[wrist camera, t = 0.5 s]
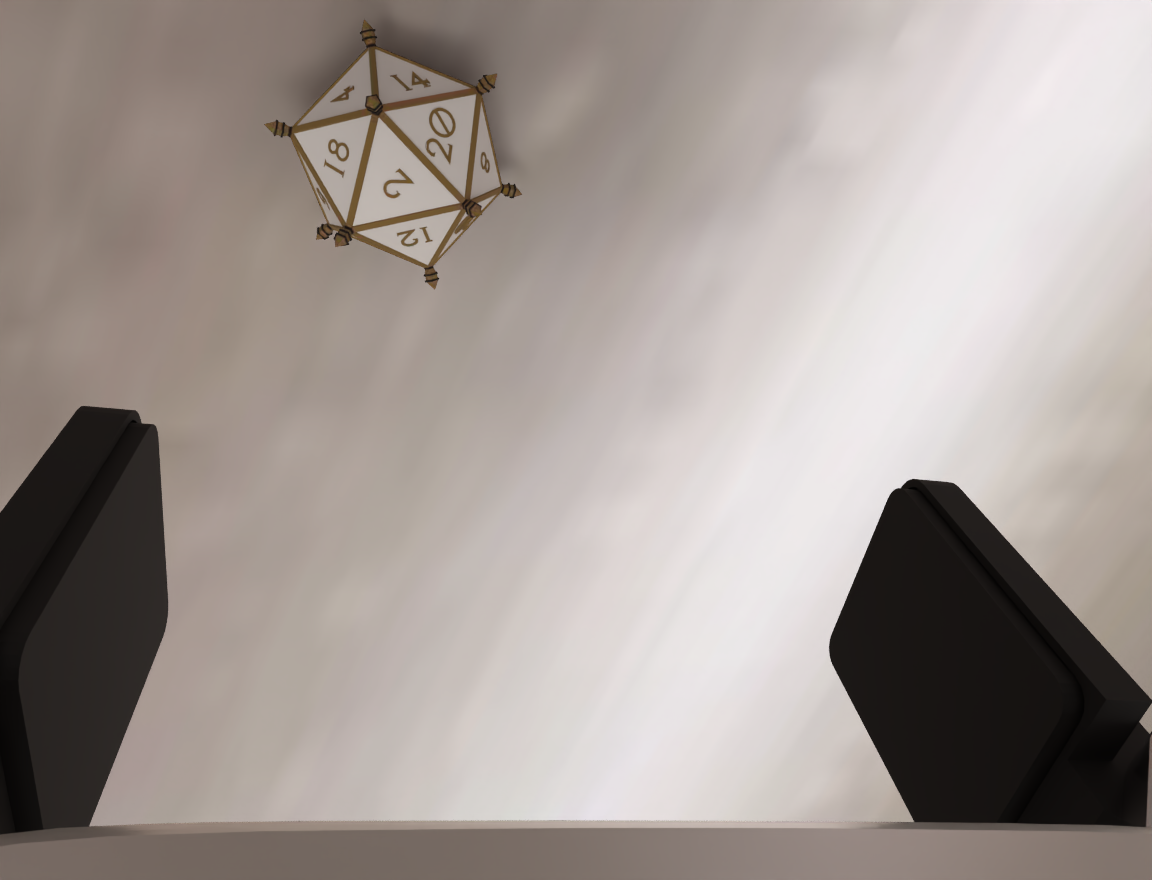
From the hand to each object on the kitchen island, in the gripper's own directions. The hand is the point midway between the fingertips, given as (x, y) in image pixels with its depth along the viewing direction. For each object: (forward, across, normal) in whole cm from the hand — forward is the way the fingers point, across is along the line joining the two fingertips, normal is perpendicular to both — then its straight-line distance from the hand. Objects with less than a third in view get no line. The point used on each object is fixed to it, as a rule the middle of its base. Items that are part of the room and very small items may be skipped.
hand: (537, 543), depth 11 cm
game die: (+30, +3, +2) cm, 30 cm away
